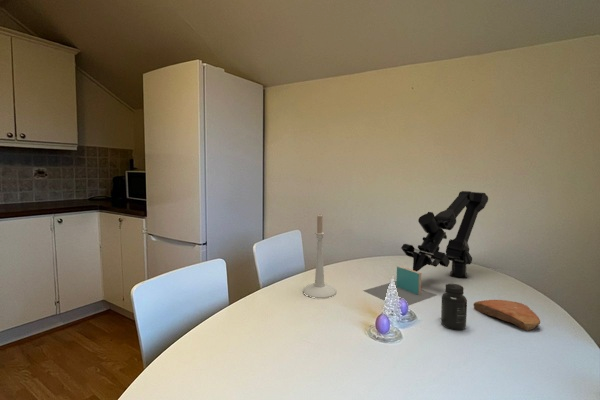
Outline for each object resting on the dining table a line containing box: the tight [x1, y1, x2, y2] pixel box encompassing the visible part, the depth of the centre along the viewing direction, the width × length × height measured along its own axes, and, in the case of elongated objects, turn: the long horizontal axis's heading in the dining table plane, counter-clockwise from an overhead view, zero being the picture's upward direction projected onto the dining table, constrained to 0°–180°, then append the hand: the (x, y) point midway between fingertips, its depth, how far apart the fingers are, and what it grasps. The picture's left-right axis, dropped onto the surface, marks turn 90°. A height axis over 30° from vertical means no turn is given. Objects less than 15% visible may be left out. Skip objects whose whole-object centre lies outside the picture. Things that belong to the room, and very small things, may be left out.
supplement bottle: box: [440, 283, 468, 331], centre depth 93 cm, size 7×7×12 cm
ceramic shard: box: [473, 299, 541, 331], centre depth 97 cm, size 15×6×15 cm
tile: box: [396, 265, 422, 295], centre depth 119 cm, size 2×10×8 cm, turn 33°
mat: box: [362, 280, 438, 307], centre depth 117 cm, size 20×18×1 cm
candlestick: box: [302, 214, 337, 299], centre depth 118 cm, size 13×13×30 cm
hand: (414, 271), depth 121 cm, fingers closed
